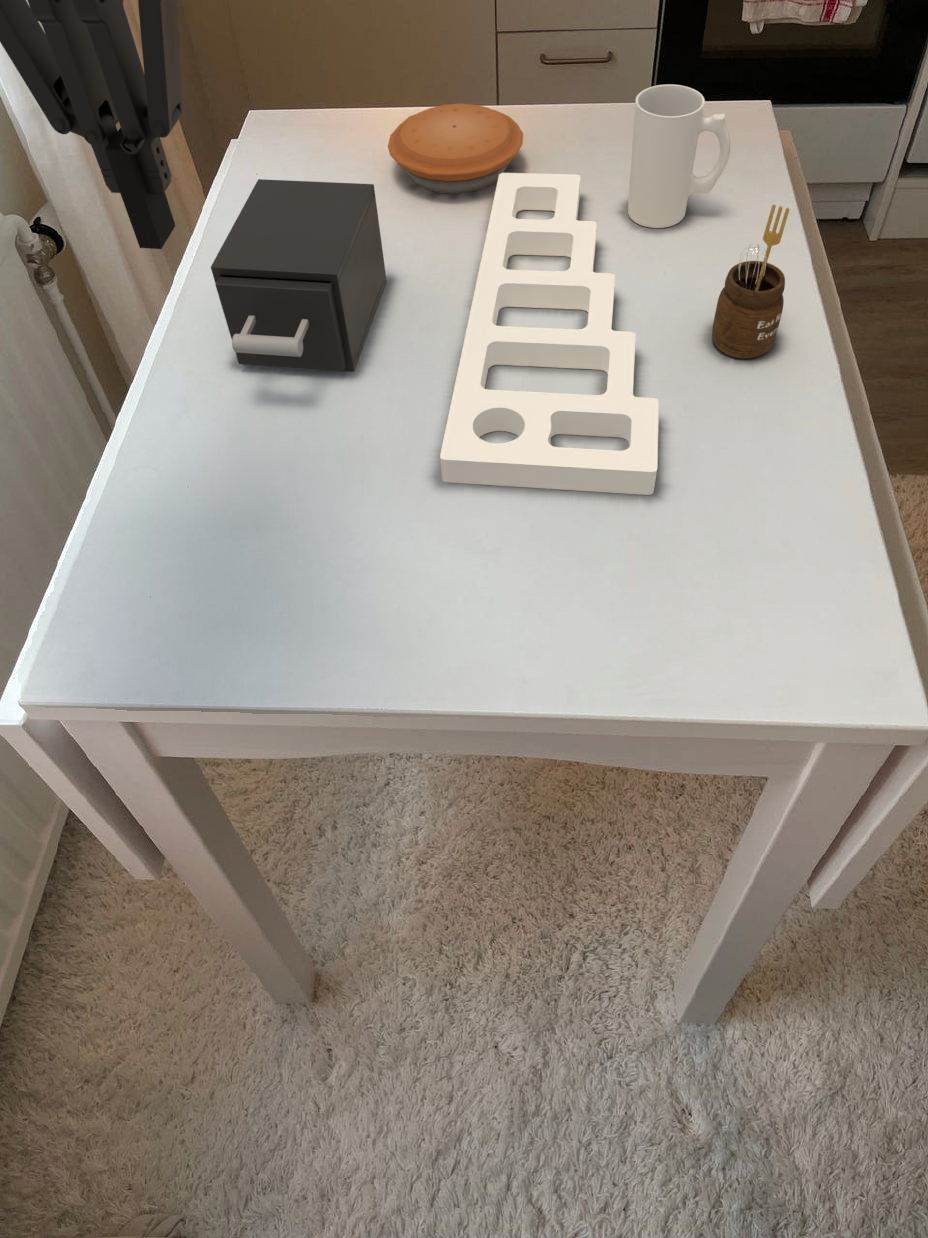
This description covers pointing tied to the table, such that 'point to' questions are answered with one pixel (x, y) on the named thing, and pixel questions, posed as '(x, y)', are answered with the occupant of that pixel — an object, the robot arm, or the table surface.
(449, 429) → the holder
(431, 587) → the table surface
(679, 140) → the mug
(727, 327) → the utensil holder
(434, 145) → the pie
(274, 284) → the drawer
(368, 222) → the cabinet
